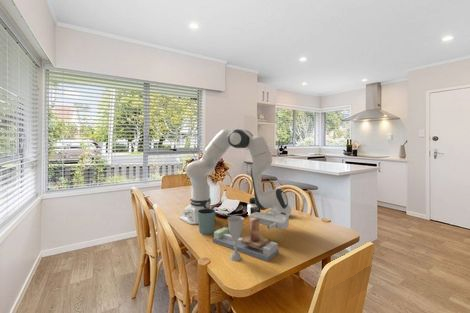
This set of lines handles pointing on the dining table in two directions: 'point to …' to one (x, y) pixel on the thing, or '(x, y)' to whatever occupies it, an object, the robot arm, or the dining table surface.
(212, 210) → the teal cup
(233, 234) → the chalice
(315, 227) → the dining table surface
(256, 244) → the carriage
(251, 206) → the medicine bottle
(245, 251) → the rail board
